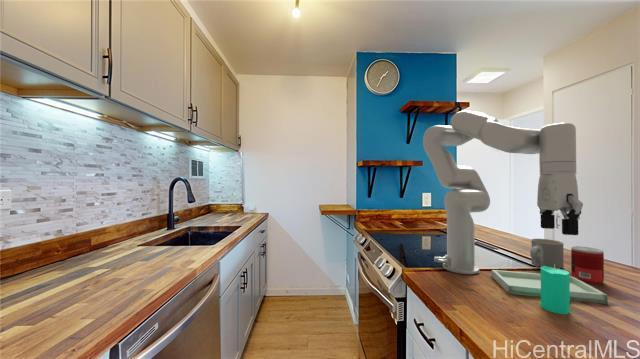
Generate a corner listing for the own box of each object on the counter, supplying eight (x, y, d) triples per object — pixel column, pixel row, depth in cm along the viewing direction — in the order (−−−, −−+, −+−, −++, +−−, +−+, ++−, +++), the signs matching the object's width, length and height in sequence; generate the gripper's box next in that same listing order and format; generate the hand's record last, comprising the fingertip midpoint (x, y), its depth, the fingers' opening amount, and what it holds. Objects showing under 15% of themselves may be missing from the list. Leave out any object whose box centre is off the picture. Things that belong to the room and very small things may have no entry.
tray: (509, 293, 80) (508, 285, 80) (491, 276, 95) (491, 269, 95) (607, 303, 74) (607, 295, 74) (572, 283, 88) (572, 276, 88)
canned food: (610, 285, 87) (610, 252, 87) (582, 283, 89) (582, 251, 89) (591, 277, 94) (591, 246, 95) (565, 275, 96) (565, 245, 96)
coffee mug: (546, 261, 113) (546, 238, 113) (570, 269, 103) (570, 243, 103) (518, 262, 112) (517, 238, 112) (539, 270, 102) (539, 244, 102)
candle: (534, 303, 74) (534, 261, 74) (554, 303, 74) (554, 260, 74) (555, 314, 68) (555, 268, 68) (576, 313, 68) (576, 267, 68)
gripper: (525, 170, 81) (526, 225, 81) (561, 167, 65) (562, 236, 64) (554, 170, 79) (555, 226, 79) (598, 167, 63) (599, 238, 62)
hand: (558, 231), depth 72 cm, fingers open, 9 cm apart
